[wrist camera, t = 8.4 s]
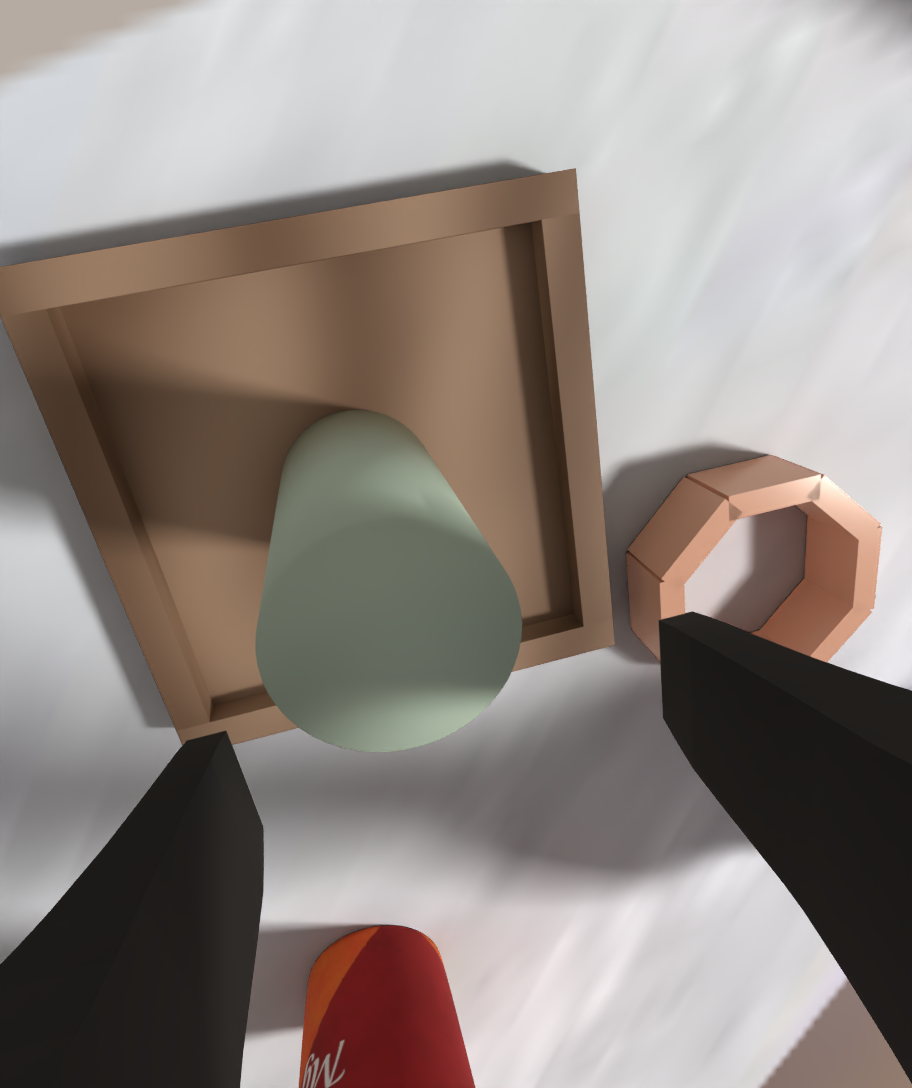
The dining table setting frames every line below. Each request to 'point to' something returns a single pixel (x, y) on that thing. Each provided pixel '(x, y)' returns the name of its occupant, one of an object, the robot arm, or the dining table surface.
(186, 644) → the serving tray
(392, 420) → the green pin
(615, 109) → the dining table surface
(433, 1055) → the paper cup
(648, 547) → the orange octagonal ring
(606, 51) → the dining table surface
